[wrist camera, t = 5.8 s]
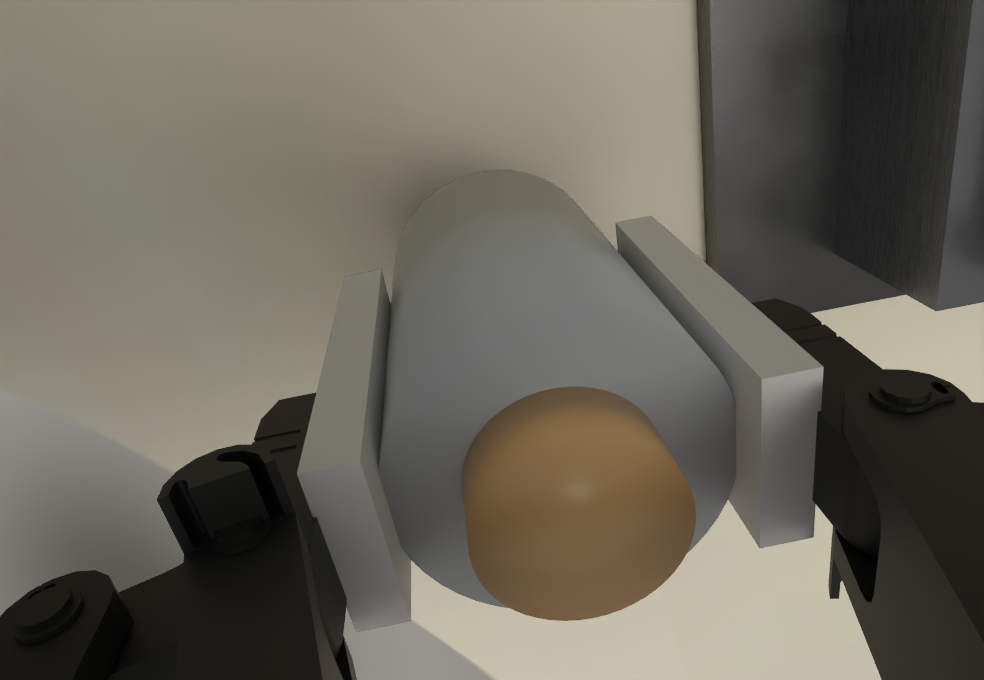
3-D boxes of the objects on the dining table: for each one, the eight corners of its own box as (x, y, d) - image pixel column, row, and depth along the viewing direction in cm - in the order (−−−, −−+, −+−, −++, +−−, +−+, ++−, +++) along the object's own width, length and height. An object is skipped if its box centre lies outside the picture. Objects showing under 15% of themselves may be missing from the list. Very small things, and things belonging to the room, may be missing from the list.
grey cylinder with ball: (415, 381, 18) (418, 709, 9) (372, 190, 15) (325, 397, 7) (606, 347, 18) (776, 640, 9) (591, 152, 15) (795, 313, 7)
